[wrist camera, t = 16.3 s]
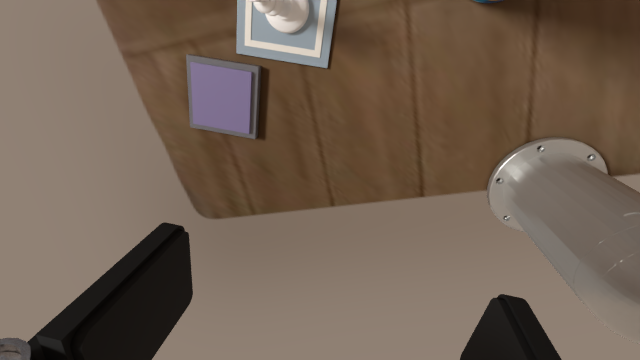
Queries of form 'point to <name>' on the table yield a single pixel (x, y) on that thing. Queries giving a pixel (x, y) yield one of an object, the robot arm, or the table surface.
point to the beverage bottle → (488, 1)
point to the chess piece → (284, 13)
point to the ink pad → (223, 95)
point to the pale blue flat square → (287, 35)
